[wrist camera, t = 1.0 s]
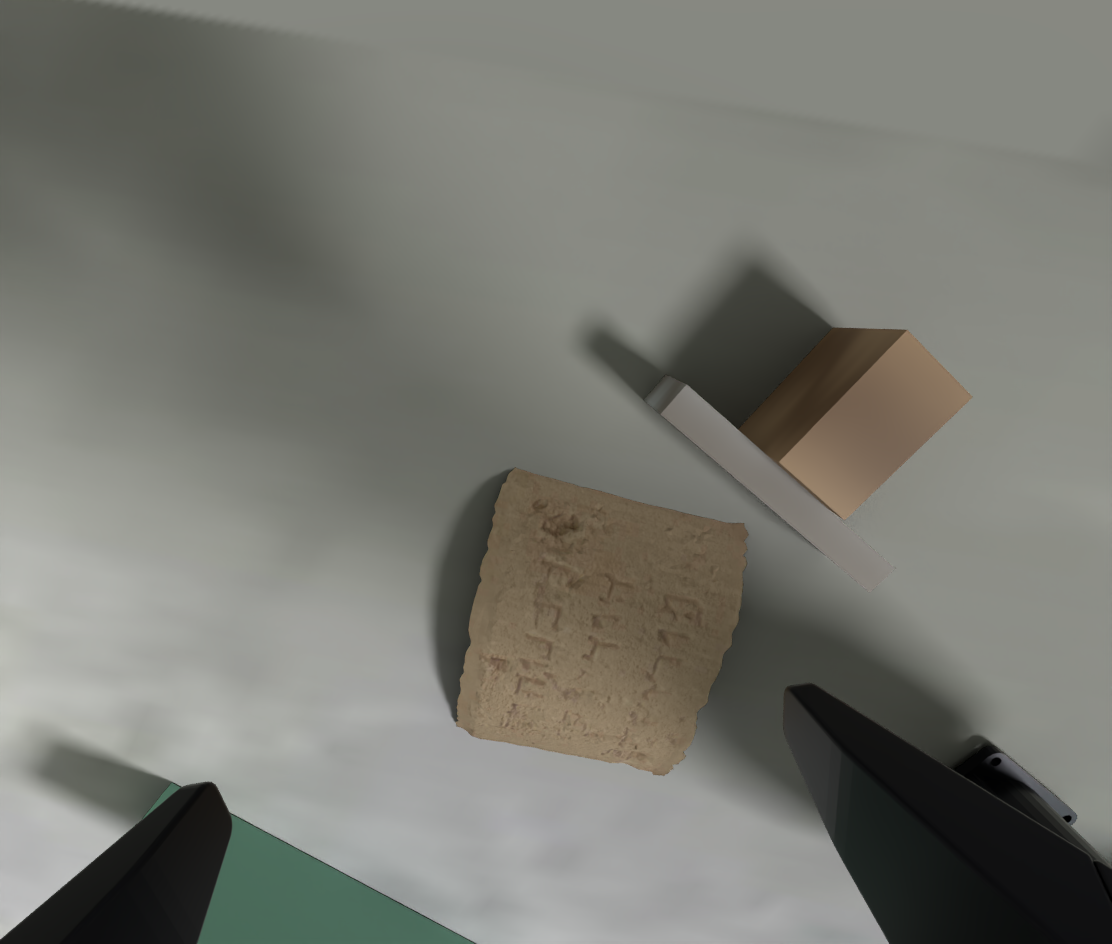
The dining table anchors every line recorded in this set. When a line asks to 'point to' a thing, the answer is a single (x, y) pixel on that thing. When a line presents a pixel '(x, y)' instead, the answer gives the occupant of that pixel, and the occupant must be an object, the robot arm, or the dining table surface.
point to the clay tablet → (598, 623)
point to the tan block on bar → (828, 434)
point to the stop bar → (301, 900)
